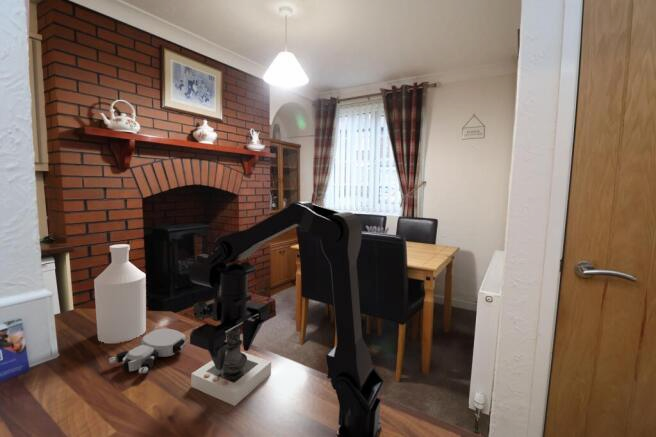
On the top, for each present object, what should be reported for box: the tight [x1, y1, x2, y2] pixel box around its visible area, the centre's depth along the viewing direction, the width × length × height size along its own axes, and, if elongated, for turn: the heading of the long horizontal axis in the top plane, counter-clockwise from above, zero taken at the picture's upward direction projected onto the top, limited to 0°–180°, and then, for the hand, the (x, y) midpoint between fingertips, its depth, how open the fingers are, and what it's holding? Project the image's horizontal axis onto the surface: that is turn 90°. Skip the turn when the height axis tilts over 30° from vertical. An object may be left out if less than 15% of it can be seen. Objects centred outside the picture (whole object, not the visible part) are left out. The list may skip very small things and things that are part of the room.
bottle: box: [93, 243, 147, 344], centre depth 87 cm, size 12×12×25 cm
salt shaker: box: [220, 326, 247, 383], centre depth 69 cm, size 6×6×12 cm
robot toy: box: [108, 326, 190, 374], centre depth 77 cm, size 12×4×15 cm
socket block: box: [190, 351, 272, 407], centre depth 70 cm, size 12×12×3 cm
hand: (233, 359), depth 70 cm, fingers closed on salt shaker, 8 cm apart
